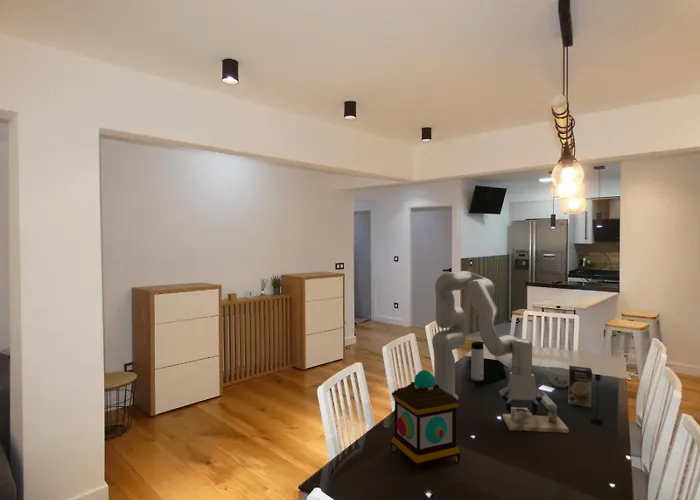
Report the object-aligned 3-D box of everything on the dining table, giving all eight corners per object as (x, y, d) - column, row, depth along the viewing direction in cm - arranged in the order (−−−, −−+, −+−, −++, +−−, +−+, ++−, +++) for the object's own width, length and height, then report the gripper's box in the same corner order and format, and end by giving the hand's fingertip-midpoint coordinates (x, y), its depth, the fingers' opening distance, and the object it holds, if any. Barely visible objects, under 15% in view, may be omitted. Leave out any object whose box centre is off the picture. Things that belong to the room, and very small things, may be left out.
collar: (515, 423, 176) (515, 413, 176) (511, 416, 182) (511, 407, 182) (531, 424, 175) (531, 414, 175) (527, 417, 181) (527, 407, 181)
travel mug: (484, 381, 231) (484, 343, 231) (471, 380, 233) (471, 342, 232) (483, 377, 237) (483, 340, 237) (470, 377, 239) (470, 340, 238)
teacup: (572, 391, 216) (573, 375, 216) (545, 387, 222) (545, 371, 222) (574, 383, 229) (574, 367, 229) (548, 379, 235) (548, 364, 235)
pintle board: (509, 429, 173) (509, 415, 173) (502, 417, 185) (502, 403, 185) (568, 432, 171) (568, 417, 171) (557, 419, 183) (558, 406, 182)
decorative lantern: (414, 477, 139) (415, 382, 139) (385, 449, 158) (385, 365, 157) (466, 464, 147) (467, 374, 147) (432, 439, 166) (432, 359, 165)
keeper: (549, 411, 176) (549, 407, 176) (536, 395, 193) (536, 391, 193) (558, 412, 175) (558, 407, 175) (544, 396, 193) (544, 392, 193)
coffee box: (568, 404, 200) (568, 369, 199) (568, 399, 205) (568, 365, 205) (591, 407, 196) (592, 371, 195) (590, 402, 202) (591, 367, 201)
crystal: (524, 362, 254) (508, 351, 278) (513, 355, 254) (498, 345, 278) (517, 373, 254) (502, 361, 278) (507, 367, 254) (492, 355, 278)
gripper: (501, 372, 175) (501, 415, 176) (547, 373, 173) (546, 417, 174) (497, 366, 183) (497, 408, 183) (541, 368, 181) (541, 409, 181)
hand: (521, 412), depth 178 cm, fingers open, 9 cm apart
